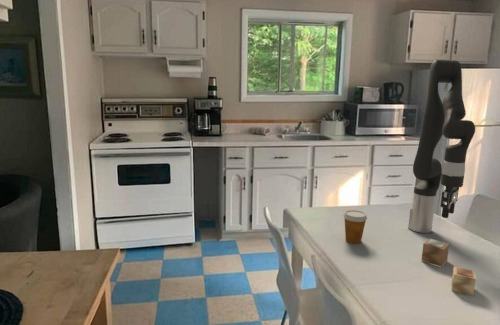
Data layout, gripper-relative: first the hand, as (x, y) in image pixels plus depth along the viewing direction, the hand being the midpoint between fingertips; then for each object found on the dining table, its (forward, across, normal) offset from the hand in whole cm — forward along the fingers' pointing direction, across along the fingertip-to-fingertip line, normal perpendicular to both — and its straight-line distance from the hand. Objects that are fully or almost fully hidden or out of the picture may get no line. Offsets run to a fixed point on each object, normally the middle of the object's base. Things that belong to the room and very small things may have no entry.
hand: (447, 215), depth 144 cm
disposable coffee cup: (+16, +13, -31) cm, 38 cm away
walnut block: (+16, +10, 0) cm, 18 cm away
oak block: (+16, +25, +13) cm, 32 cm away
